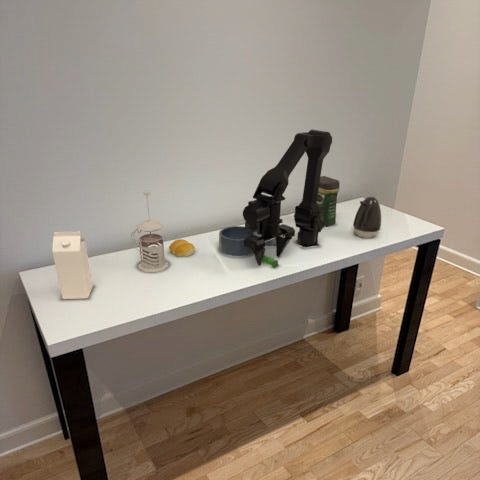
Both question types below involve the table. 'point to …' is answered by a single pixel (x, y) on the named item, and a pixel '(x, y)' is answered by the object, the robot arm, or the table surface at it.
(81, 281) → the milk carton
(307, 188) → the robot arm
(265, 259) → the zucchini
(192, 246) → the bread roll
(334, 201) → the coffee jar
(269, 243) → the pot lid
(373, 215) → the dark grey rounded figure
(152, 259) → the french press
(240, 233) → the pot
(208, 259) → the table surface
